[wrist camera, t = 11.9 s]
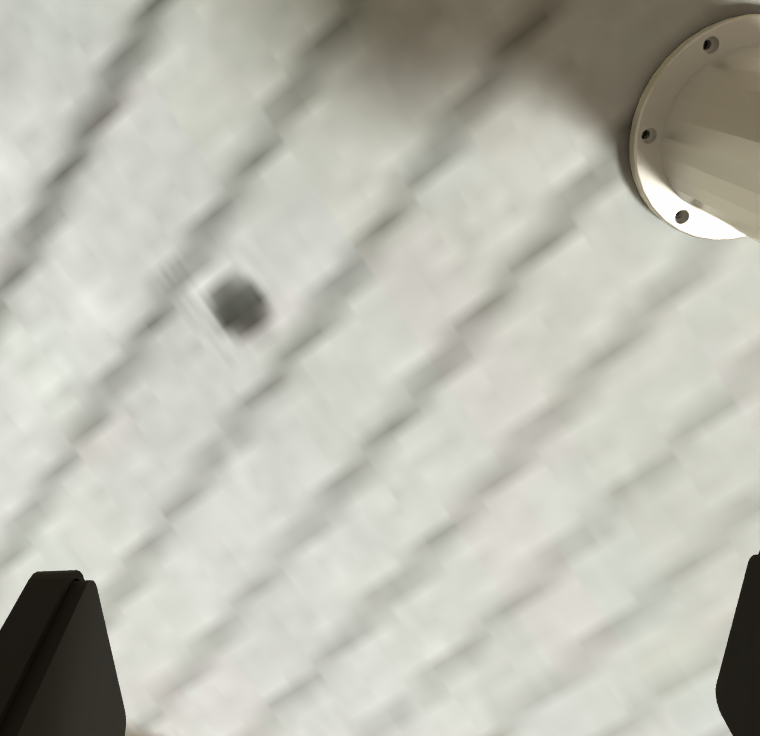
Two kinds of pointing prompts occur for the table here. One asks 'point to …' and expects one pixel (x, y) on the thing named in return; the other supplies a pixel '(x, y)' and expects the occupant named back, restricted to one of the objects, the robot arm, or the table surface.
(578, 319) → the table surface
